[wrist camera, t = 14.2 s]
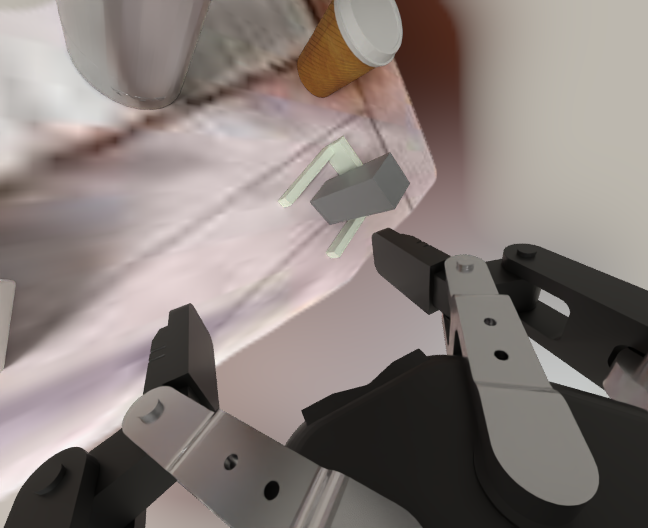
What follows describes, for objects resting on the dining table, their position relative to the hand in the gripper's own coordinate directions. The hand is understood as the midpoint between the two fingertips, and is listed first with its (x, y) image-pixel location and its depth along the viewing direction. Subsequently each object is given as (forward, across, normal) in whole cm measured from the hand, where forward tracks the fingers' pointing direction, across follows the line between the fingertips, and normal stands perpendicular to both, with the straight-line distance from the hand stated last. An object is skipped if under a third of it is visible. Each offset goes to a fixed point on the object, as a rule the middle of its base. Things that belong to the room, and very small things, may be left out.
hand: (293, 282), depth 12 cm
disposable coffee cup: (+35, -17, -8) cm, 40 cm away
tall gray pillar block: (+27, -12, +8) cm, 31 cm away
